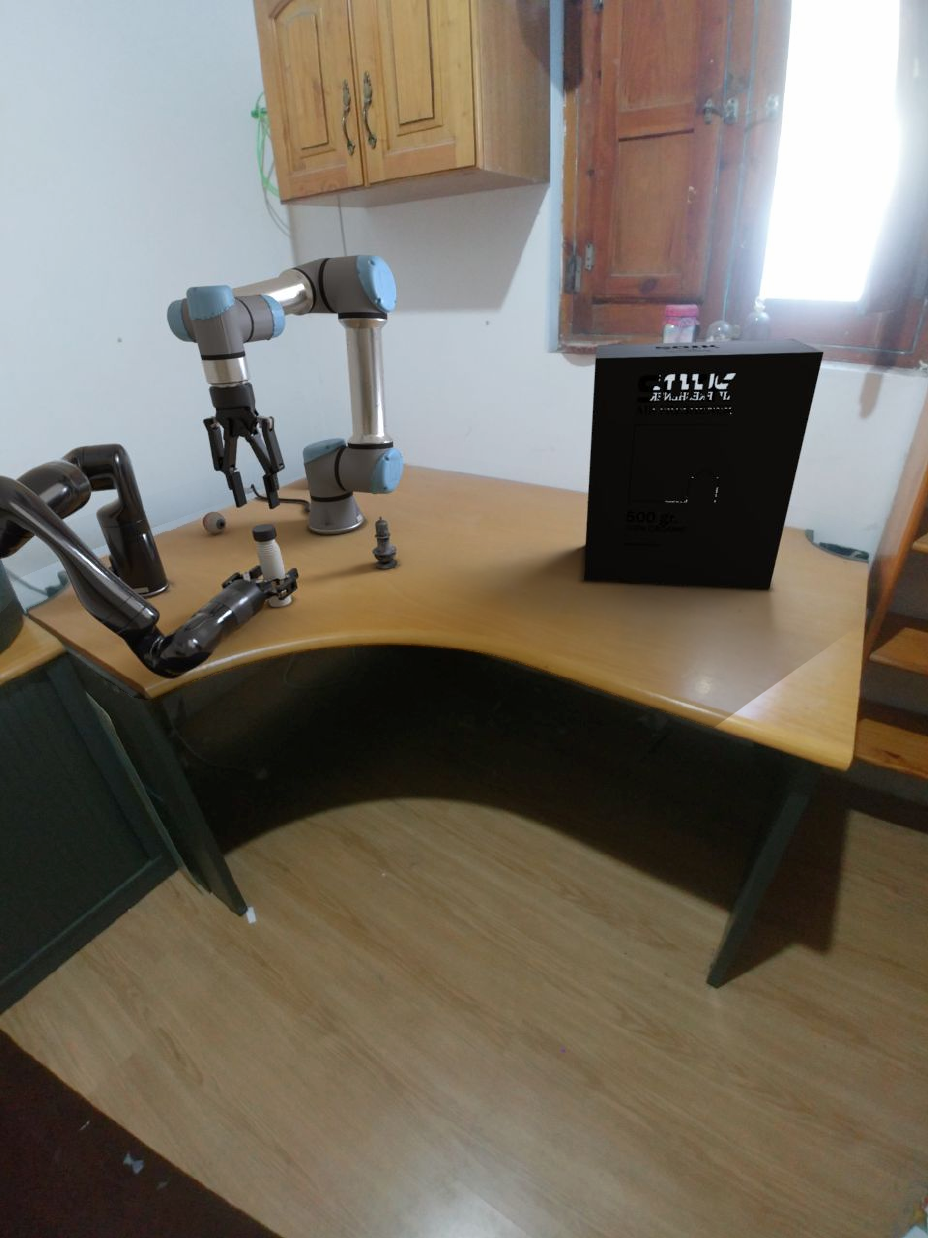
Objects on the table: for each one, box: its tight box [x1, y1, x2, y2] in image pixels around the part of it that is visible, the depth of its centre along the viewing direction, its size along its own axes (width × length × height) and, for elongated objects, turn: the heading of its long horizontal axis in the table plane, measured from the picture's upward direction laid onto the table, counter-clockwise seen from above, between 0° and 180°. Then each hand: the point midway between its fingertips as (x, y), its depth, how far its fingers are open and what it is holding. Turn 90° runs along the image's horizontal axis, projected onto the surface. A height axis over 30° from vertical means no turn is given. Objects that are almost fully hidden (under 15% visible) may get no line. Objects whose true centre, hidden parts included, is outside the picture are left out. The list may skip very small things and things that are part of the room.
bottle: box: [256, 539, 292, 608], centre depth 126 cm, size 5×5×17 cm
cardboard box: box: [583, 338, 824, 590], centre depth 125 cm, size 38×20×45 cm, turn 78°
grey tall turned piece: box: [371, 516, 398, 570], centre depth 142 cm, size 6×6×12 cm
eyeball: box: [202, 511, 227, 535], centre depth 167 cm, size 6×6×6 cm
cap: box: [251, 523, 278, 543], centre depth 123 cm, size 4×5×2 cm
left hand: (278, 570), depth 129 cm, fingers open, 8 cm apart
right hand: (258, 505), depth 120 cm, fingers open, 7 cm apart
